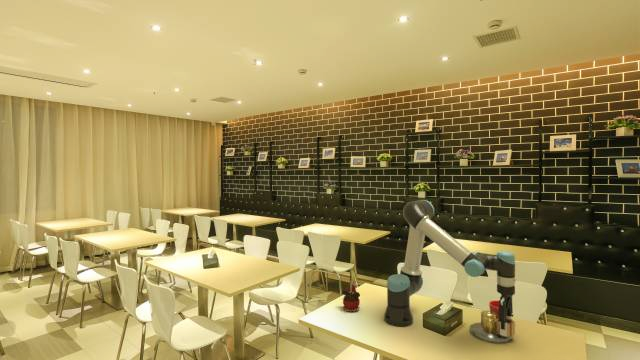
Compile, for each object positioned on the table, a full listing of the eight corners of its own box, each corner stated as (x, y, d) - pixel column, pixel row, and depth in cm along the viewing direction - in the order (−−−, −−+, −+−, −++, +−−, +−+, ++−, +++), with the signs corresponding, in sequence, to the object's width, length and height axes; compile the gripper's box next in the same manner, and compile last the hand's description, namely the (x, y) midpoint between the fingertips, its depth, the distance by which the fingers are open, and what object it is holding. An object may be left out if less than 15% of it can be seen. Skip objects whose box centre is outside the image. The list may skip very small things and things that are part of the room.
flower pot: (515, 328, 168) (515, 309, 168) (492, 326, 170) (492, 307, 170) (508, 319, 178) (508, 301, 178) (486, 317, 180) (486, 299, 180)
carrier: (470, 338, 157) (470, 322, 157) (469, 321, 175) (469, 307, 175) (513, 346, 150) (513, 329, 150) (508, 327, 168) (508, 312, 168)
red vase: (339, 310, 192) (339, 279, 191) (346, 304, 200) (346, 275, 199) (356, 314, 186) (355, 282, 186) (363, 308, 194) (362, 278, 194)
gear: (497, 335, 155) (497, 322, 155) (496, 328, 162) (496, 316, 162) (515, 337, 152) (515, 325, 152) (513, 331, 159) (513, 318, 159)
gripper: (508, 292, 147) (508, 343, 147) (520, 281, 161) (520, 327, 162) (490, 288, 152) (490, 337, 152) (503, 277, 166) (503, 323, 167)
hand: (505, 332), depth 157 cm, fingers closed on gear, 7 cm apart
